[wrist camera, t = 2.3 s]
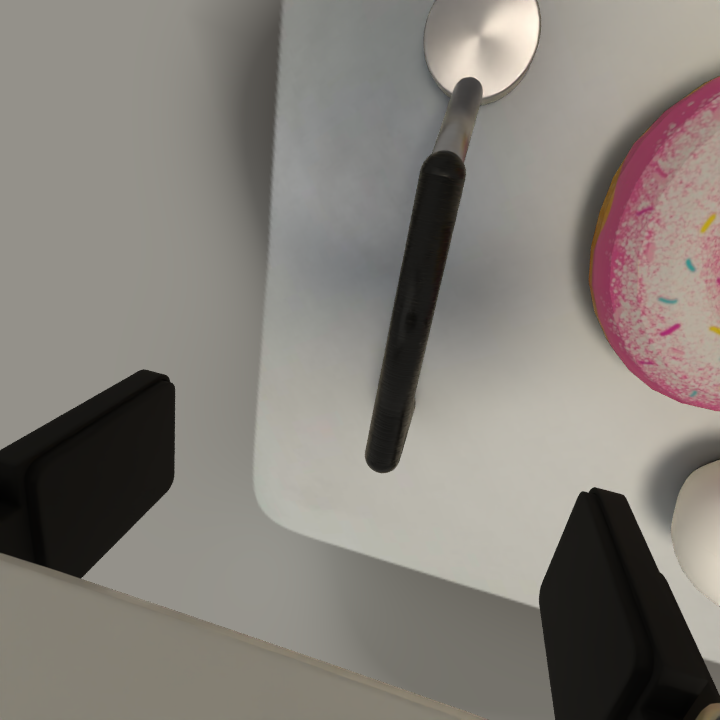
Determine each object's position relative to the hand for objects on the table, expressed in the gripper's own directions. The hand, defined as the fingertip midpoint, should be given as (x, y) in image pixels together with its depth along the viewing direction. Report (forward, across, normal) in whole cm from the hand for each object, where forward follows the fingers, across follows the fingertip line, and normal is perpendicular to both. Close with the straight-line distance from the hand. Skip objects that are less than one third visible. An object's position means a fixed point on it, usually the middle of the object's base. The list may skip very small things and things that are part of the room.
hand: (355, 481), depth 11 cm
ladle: (+15, 0, -4) cm, 16 cm away
